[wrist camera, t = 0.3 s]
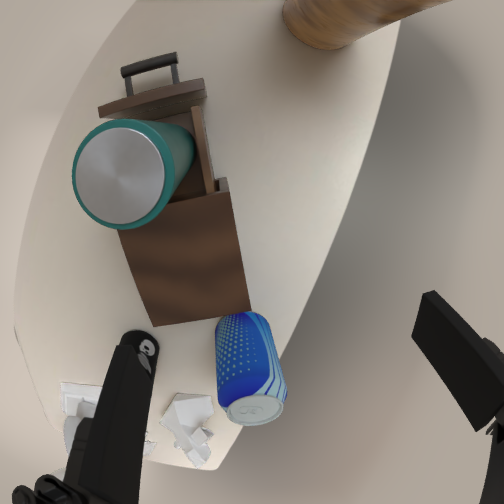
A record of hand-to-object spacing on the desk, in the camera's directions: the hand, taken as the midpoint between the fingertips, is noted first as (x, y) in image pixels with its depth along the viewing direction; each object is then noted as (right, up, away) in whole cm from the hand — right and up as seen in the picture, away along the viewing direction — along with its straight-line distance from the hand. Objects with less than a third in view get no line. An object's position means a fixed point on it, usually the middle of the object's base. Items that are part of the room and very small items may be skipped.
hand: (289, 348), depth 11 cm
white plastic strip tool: (-29, -46, +46) cm, 71 cm away
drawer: (-11, +18, +18) cm, 28 cm away
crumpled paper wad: (-15, -27, +39) cm, 50 cm away
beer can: (-3, -8, +32) cm, 33 cm away
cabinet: (-9, +6, +25) cm, 27 cm away
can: (-11, +15, +18) cm, 26 cm away
